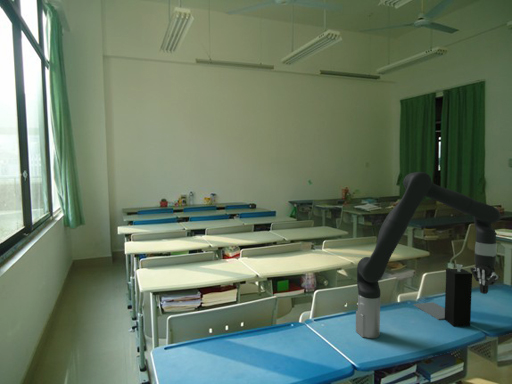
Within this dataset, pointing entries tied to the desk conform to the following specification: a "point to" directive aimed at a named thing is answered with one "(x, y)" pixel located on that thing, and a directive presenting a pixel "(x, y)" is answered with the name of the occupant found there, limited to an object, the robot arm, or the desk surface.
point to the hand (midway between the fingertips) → (483, 293)
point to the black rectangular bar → (458, 296)
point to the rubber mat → (432, 310)
